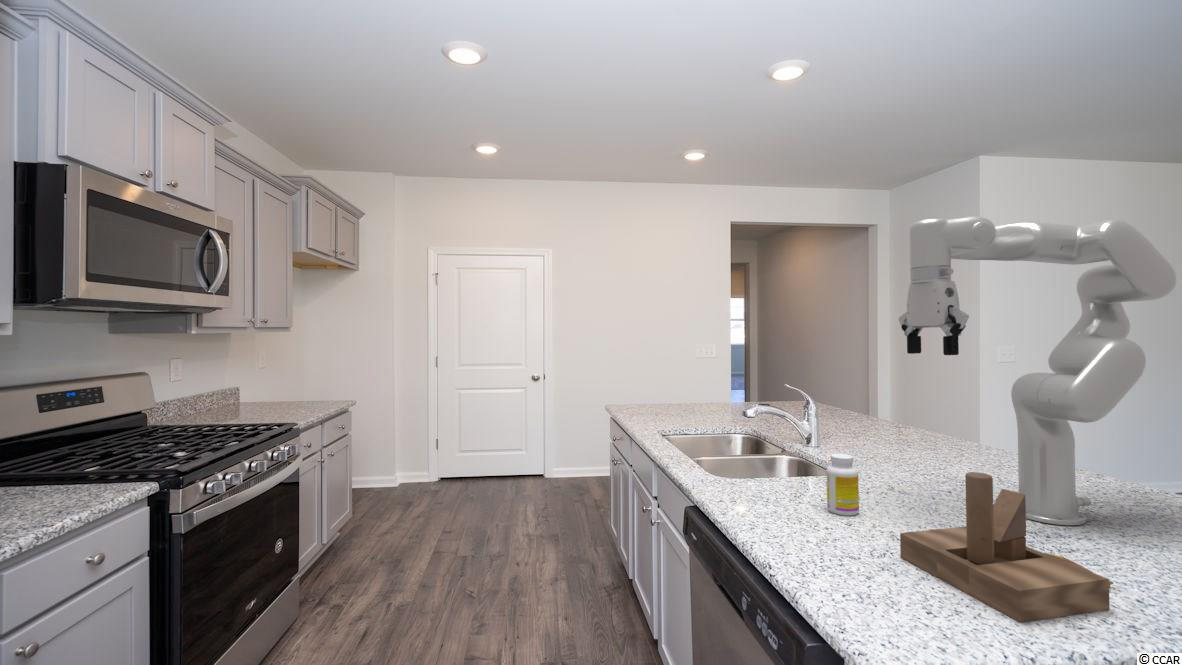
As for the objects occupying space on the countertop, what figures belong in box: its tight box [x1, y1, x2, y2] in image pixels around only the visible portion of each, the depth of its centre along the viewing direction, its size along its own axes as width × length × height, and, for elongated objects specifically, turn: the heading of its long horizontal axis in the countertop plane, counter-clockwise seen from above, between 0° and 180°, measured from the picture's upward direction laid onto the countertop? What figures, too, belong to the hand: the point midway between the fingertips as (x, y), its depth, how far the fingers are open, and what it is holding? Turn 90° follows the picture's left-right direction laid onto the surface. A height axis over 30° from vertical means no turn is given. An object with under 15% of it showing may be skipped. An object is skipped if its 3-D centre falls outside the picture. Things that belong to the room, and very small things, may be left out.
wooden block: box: [965, 471, 1027, 565], centre depth 86 cm, size 4×11×18 cm, turn 111°
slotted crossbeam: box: [899, 526, 1111, 623], centre depth 86 cm, size 16×22×4 cm
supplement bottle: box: [826, 453, 860, 517], centre depth 120 cm, size 7×7×13 cm
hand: (931, 354), depth 114 cm, fingers open, 9 cm apart
